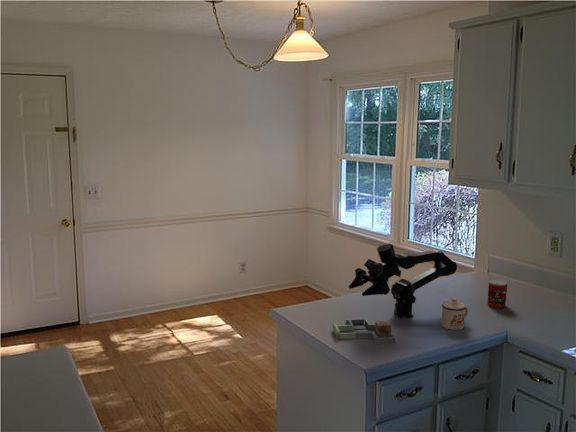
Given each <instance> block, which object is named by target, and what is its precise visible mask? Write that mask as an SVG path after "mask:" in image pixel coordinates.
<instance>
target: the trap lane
mask: <svg viewBox="0 0 576 432" xmlns="http://www.w3.org/2000/svg"><path fill="white" fill-rule="evenodd" d="M332 324H333V325H332V327H333V328H332V330H333V333H334V335H335V337H336V339H337V340H344V339H368V338H371V339H372V341H373V342H374V343H375V344H376V345H377V344H379V345H380V344H396V336H395V335H394V334H393V332H392V331H391V332H389V335H383V336H377V335H376V334H375V333H374V331H370V329H371V330H375V323H370V322H369V320H368V319H365V318H350V319H349V318H347V319H346V318H345V324H339V325H338V324H337V323H336V322H333V323H332ZM354 330H369V331H358V332H356V331H355V332H348V331H354ZM343 331H347V332H343Z"/></svg>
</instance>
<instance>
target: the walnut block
mask: <svg viewBox="0 0 576 432" xmlns="http://www.w3.org/2000/svg"><path fill="white" fill-rule="evenodd" d="M374 322H375V323H374V324H375V329H374V330H375V332H376V334H377V335H378V336H389V332H392V328H393V327H392V326H393V325H392V324H391V323H390V321H389V320H376V321H374Z"/></svg>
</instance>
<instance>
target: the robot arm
mask: <svg viewBox="0 0 576 432" xmlns="http://www.w3.org/2000/svg"><path fill="white" fill-rule="evenodd" d="M376 250H377V253H378V257H379V260H380V262H381V263H380V262H376V261H375V260H373V259H370V258H368V259H367V260H366V261H365V263H364V264H363V265H364V267H366V269H368V270H367V271H366V270H365V269H363V268H360V267H357V268H356V269H355V270H354V272H355V277H354V278H353V280H352V281H351V282H350V284H349V285H348V289H350V290H351V289H355V288H358V287H362V286H364V285H365V284H368V282H369V283H371V284H372V285H371V286H369V287H368V288H367V289H365V290H364V291H363V292H362V293H361V295H362V296H361V297H366V296H375V295H377V296H378V295H381V296H383V295H384V296H386V295H388V294H389V293H391V295H392V297H393V300H395V303H394V306H393V307H394V309H393V313H394V314H395V315H396V316H397V317H398V318H413V317H414V314H413V304H414V303H416V301H417V297H415V295H414V294H415V292H416V290H418V289H420V288H422V287H423V286H425V285H428V284H430V283H431V282H433V281H435V280H437V279H438V278H440V277H448V276H451V275H454V274H455V273H456V272H457V269H458V265H457V262H456V261H454V260H452V259H451V258H450V257H449V256H447V255H446V254H445V253H444V252H443V251H442V250H440V249H431V250H427V251H422V252H417V253H408V252H407V253H406V252H398V253H396V252H395V249H394V245H393V244H392V243H391V242H390V243H388V244H382V245H380V246H378V247H377V248H376ZM430 262H433V263H434V264H433V267H431V268H429V269H427V270H426V271H424V272H422V273H420V274H418V275H416V276H415V277H413V278H411V279H409V280H407V279H405V278H400V277H402V275H401V274H402V270H400V268H401V269H404V270H409V269H412V268H414V267H415V266H417V265H418V264H419V265H420V264H424V263H430ZM367 273H368V274H367ZM393 276H396V277H398V278H400V279H398V280H397V281H395V282H394V283H393V284H392V286H391V289H390V286H389V281H390V280H389V279H390V278H392V277H393Z"/></svg>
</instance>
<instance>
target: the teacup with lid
mask: <svg viewBox="0 0 576 432" xmlns="http://www.w3.org/2000/svg"><path fill="white" fill-rule="evenodd" d="M441 306H442V307H441V309H442V310H441V326H442V327H443V328H445V329H447V330H451V331H459V330H462V329H464V327H465V319H466V317H467V316H468V314H469V309H468V307H466V304H464V303H463V302H461V301H459V300H457V298H456V297H451V299H449V300H446V301H443V302H442V304H441Z"/></svg>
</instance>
